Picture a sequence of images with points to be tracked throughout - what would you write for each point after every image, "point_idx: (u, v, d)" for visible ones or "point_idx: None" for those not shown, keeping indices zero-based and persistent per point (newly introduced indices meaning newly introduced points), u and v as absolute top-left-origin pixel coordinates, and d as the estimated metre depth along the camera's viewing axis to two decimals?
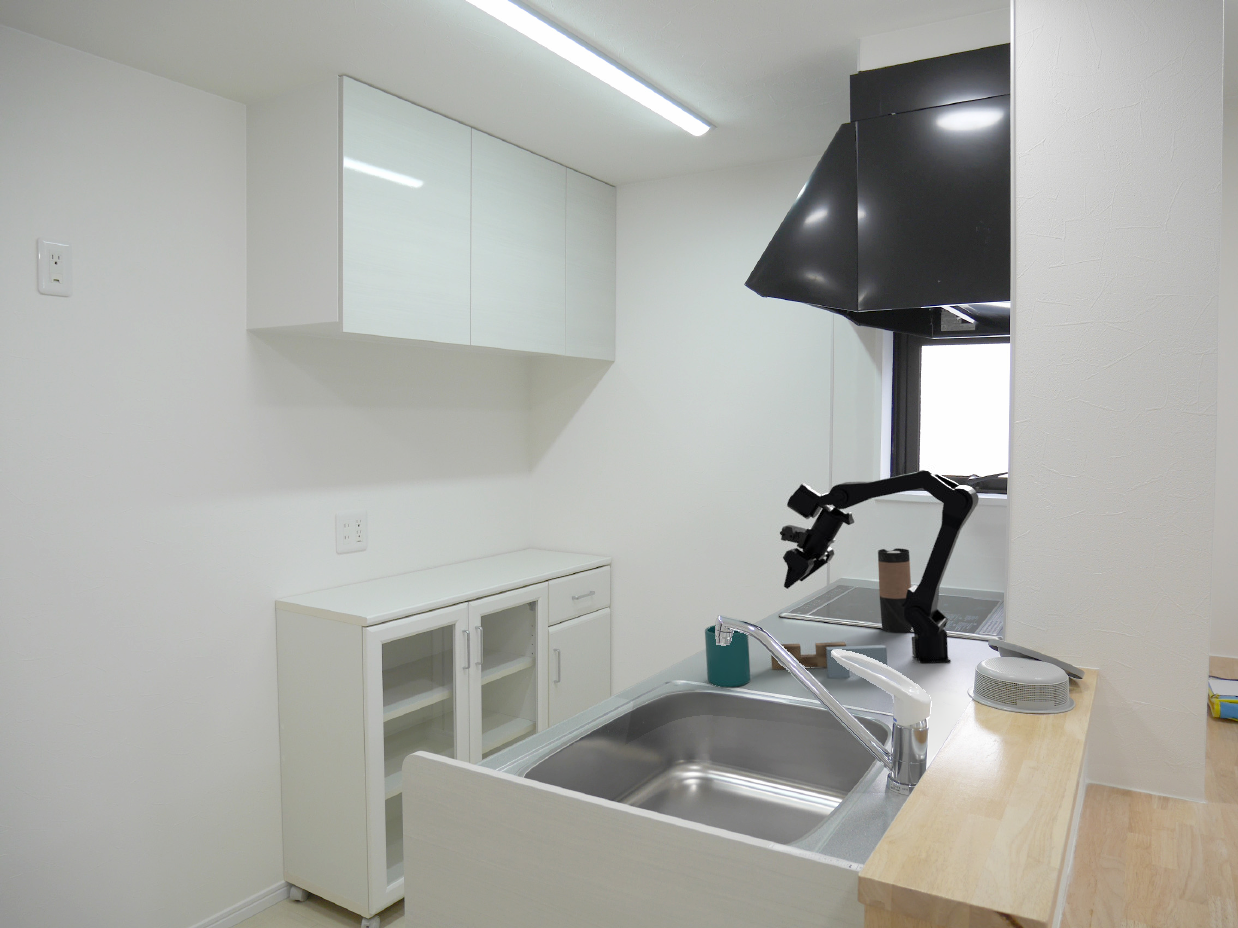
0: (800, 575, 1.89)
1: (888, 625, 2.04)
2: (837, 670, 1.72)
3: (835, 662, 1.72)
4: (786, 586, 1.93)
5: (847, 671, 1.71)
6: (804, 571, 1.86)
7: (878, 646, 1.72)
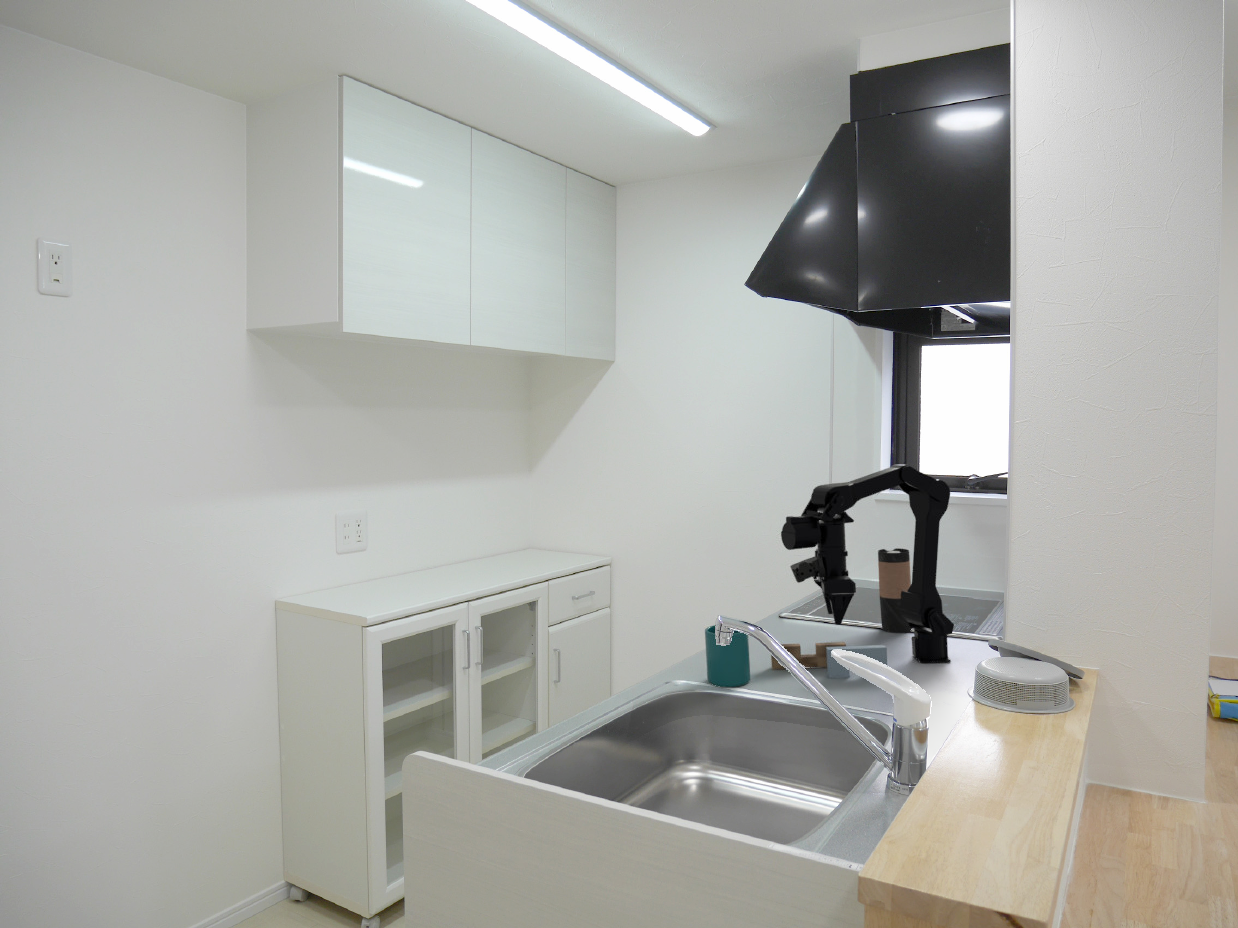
0: (848, 600, 1.66)
1: (888, 625, 2.04)
2: (837, 670, 1.72)
3: (835, 662, 1.72)
4: (838, 622, 1.67)
5: (847, 671, 1.71)
6: (854, 591, 1.63)
7: (878, 646, 1.72)
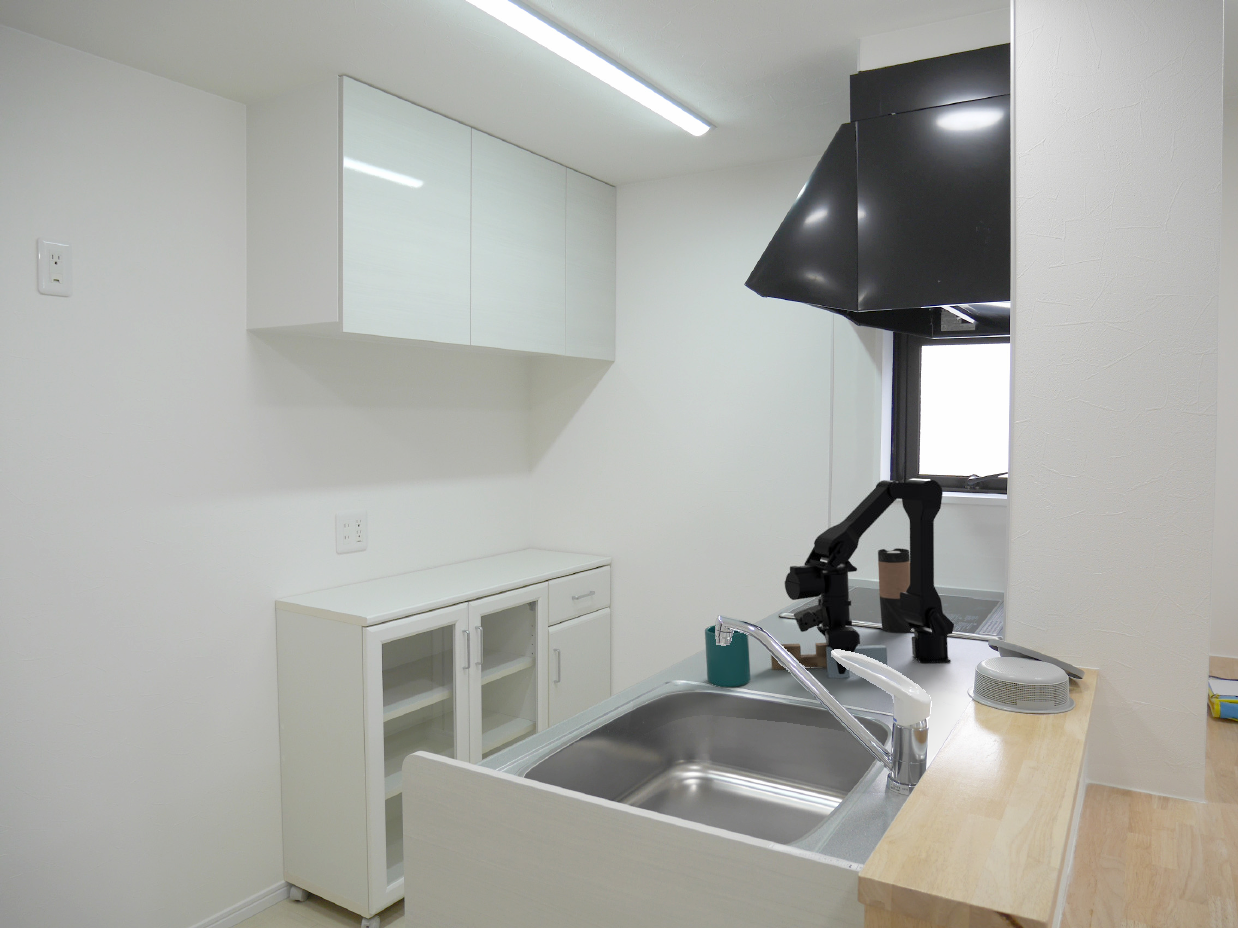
0: (851, 650, 1.66)
1: (888, 625, 2.04)
2: (837, 670, 1.72)
3: (835, 662, 1.72)
4: (842, 671, 1.68)
5: (847, 671, 1.71)
6: (859, 642, 1.63)
7: (878, 646, 1.72)
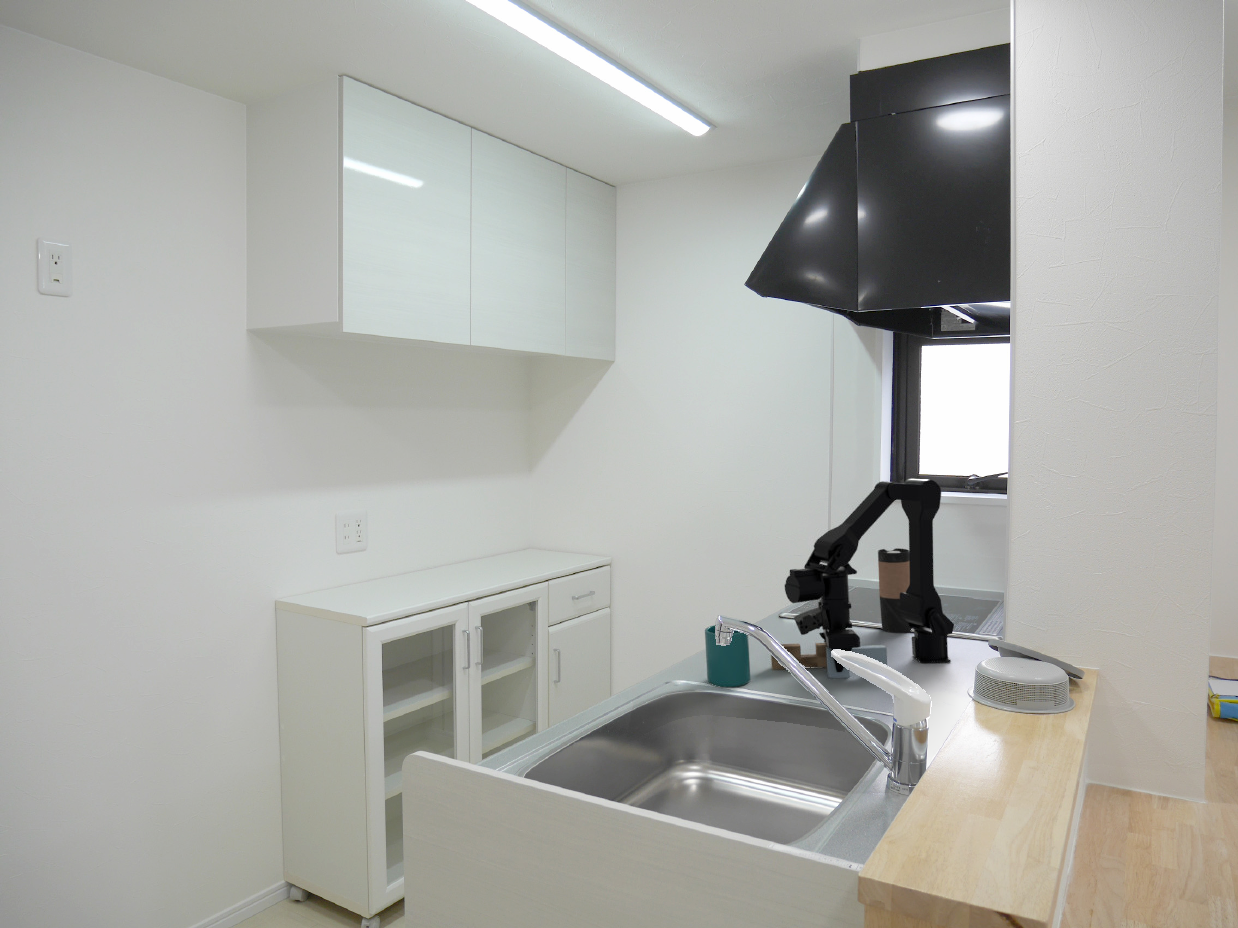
0: (849, 648, 1.69)
1: (888, 625, 2.04)
2: None
3: None
4: (840, 670, 1.71)
5: (847, 671, 1.71)
6: (859, 645, 1.63)
7: (878, 646, 1.72)
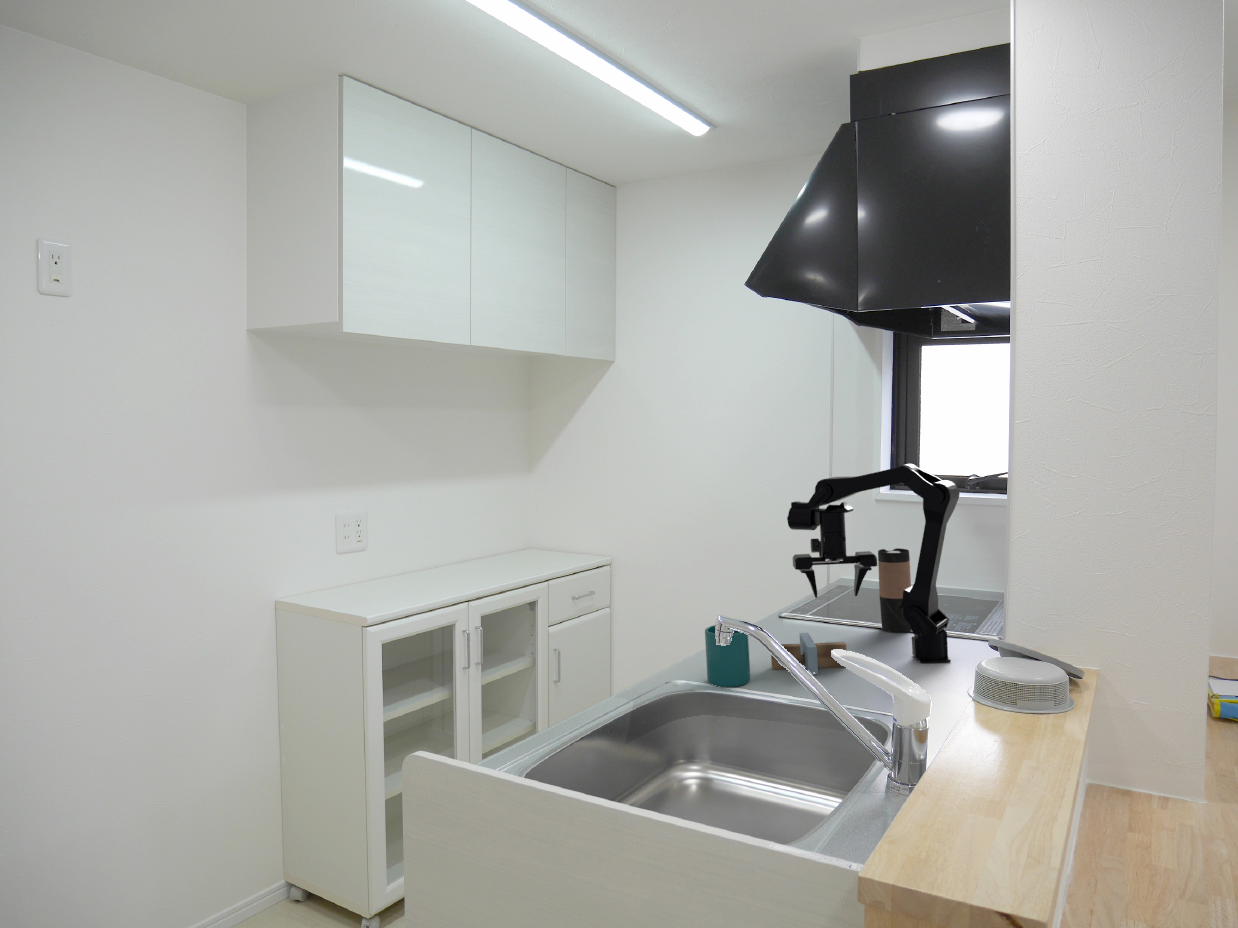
0: (808, 577, 1.92)
1: (888, 625, 2.04)
2: (801, 654, 1.85)
3: (800, 646, 1.85)
4: (814, 595, 1.94)
5: None
6: (797, 568, 1.91)
7: (811, 645, 1.75)
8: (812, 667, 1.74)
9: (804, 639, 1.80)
